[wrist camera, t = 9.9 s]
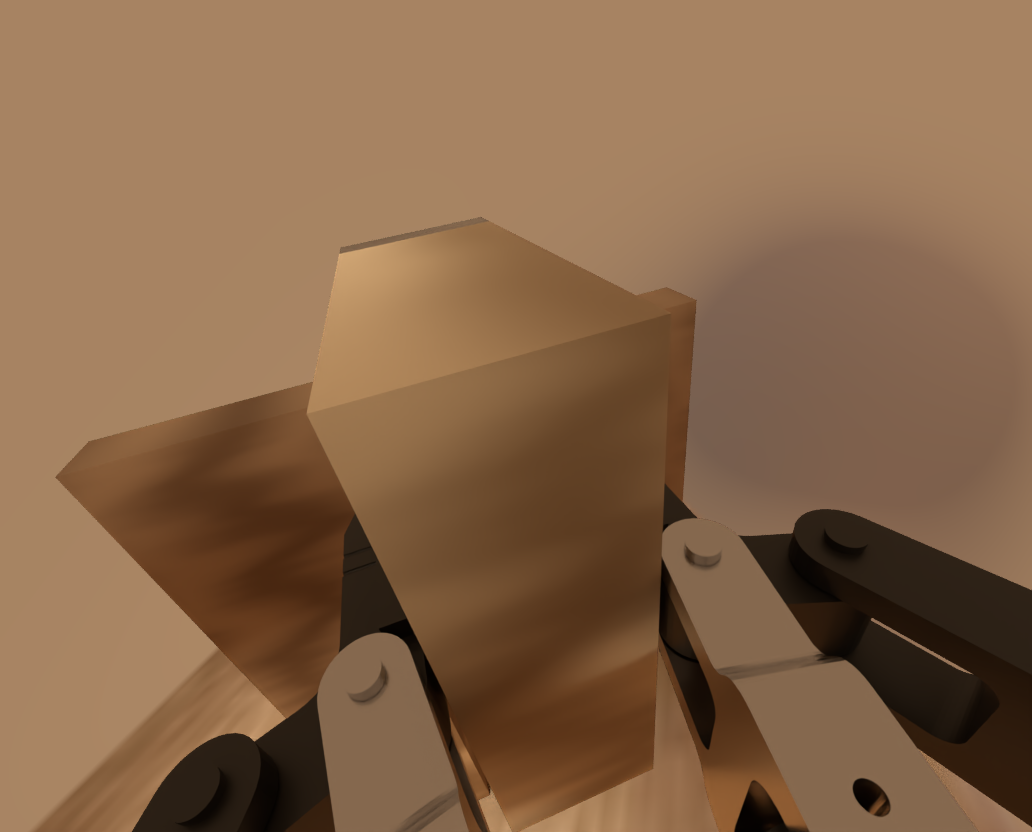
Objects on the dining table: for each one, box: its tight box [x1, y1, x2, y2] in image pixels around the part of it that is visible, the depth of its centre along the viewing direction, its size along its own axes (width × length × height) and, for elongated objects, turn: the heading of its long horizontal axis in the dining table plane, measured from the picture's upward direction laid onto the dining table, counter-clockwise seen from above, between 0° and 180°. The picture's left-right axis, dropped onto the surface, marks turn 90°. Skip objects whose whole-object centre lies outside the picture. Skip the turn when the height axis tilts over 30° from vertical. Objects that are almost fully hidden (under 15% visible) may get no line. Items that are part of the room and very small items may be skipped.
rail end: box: [307, 217, 671, 832], centre depth 10 cm, size 3×8×11 cm, turn 18°
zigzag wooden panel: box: [56, 288, 696, 800], centre depth 19 cm, size 22×7×20 cm, turn 108°
